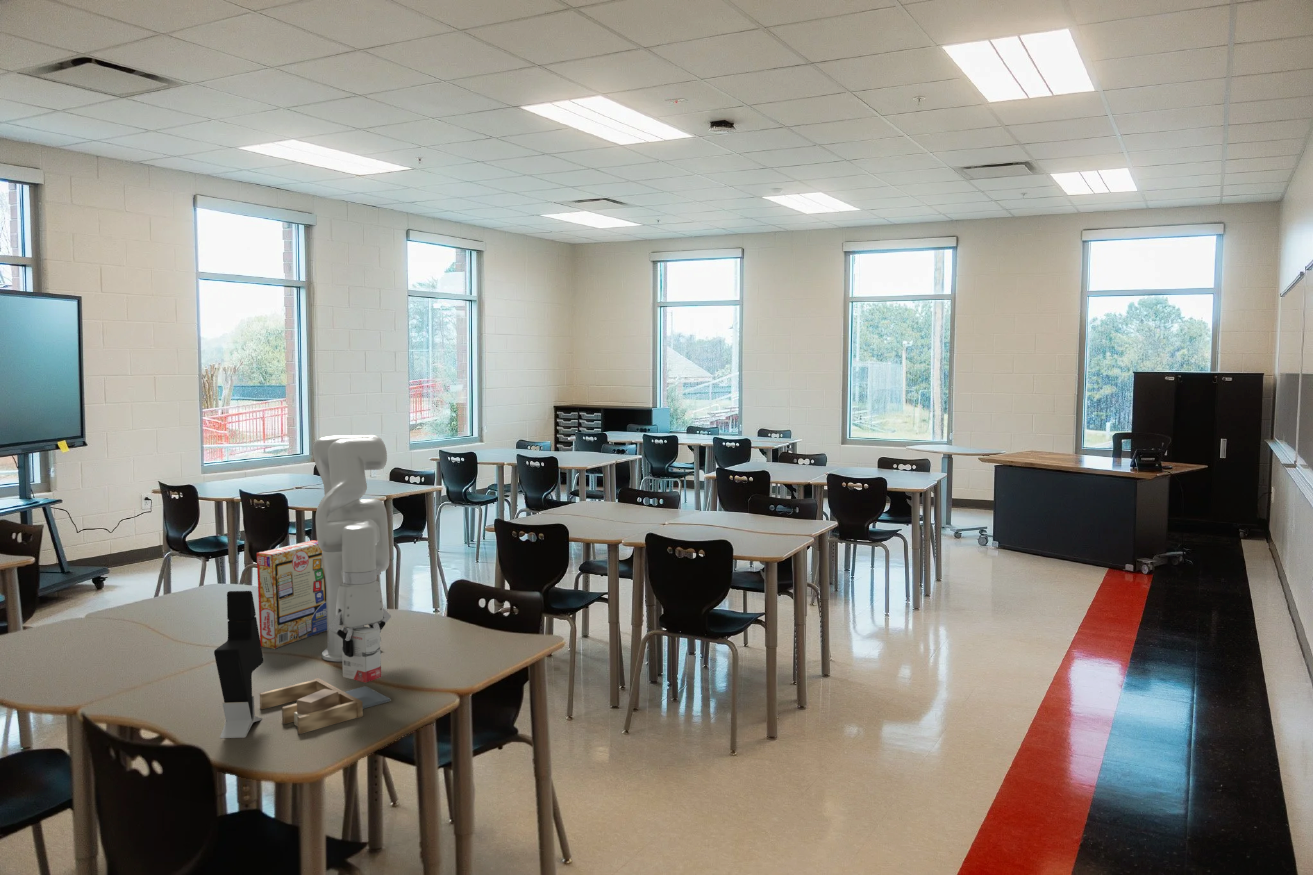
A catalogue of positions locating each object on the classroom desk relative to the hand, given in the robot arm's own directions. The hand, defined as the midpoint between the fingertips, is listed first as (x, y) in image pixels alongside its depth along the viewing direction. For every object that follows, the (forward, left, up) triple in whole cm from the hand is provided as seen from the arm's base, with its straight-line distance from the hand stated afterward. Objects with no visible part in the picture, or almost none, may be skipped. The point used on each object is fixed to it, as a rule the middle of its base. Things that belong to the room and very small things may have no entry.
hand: (361, 652), depth 216 cm
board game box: (-10, -59, -12) cm, 61 cm away
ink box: (0, 0, -6) cm, 6 cm away
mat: (0, 0, -11) cm, 11 cm away
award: (+27, -3, -12) cm, 29 cm away
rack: (+13, -1, -11) cm, 17 cm away
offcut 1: (+13, +5, -9) cm, 17 cm away
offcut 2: (+13, +6, -12) cm, 19 cm away
